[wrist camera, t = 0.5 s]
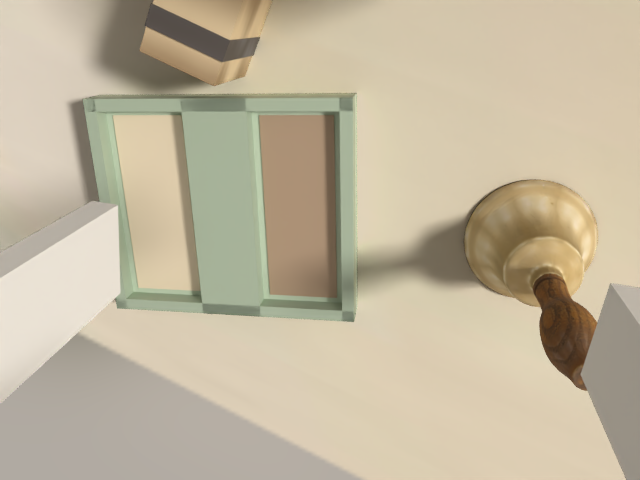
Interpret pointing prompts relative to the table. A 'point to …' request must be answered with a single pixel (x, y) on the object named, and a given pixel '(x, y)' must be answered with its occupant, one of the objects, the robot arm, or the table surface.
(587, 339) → the hand bell
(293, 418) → the table surface
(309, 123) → the pale green flat frame
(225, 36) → the oak bar
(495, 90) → the table surface
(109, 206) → the robot arm
